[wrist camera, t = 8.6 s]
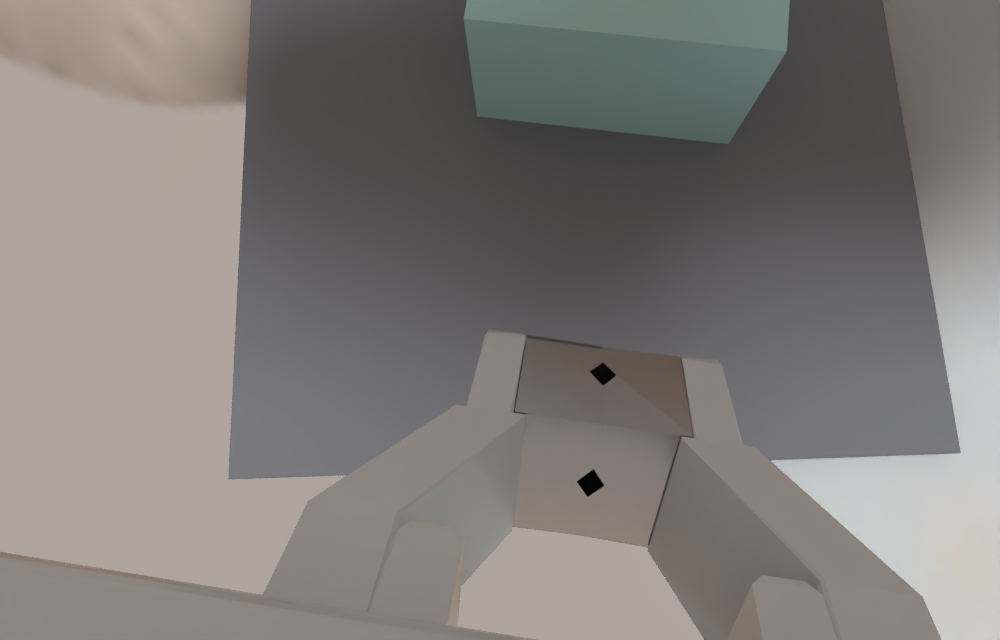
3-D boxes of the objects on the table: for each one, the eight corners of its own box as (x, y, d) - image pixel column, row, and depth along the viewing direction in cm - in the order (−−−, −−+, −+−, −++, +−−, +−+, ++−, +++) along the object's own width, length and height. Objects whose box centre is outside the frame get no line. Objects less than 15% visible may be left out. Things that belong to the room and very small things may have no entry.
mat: (839, -172, 20) (848, -191, 19) (944, 453, 16) (960, 453, 16) (266, -136, 21) (258, -154, 20) (238, 478, 17) (228, 479, 16)
